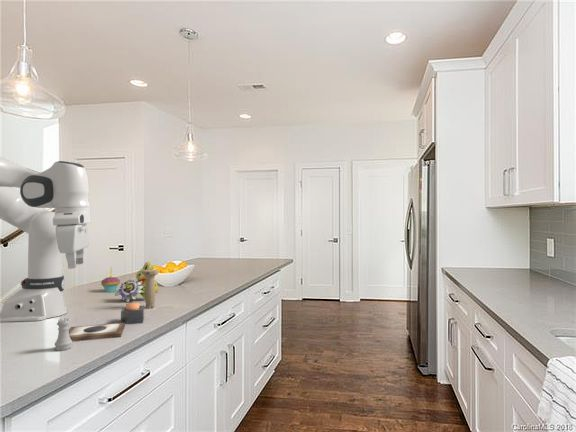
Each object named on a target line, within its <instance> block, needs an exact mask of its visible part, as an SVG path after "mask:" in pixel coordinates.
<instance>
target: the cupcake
mask: <svg viewBox="0 0 576 432" xmlns="http://www.w3.org/2000/svg"><path fill="white" fill-rule="evenodd" d="M100 283H101V284H100V285H101V286H102V287H103V289H104V291H105V292H106V293H113V292H116V291H117V289H118V286H119V285H121V280H120V278H118V277H113V268H112V266H111V268H110V276H109V277H105V278H103V279H102V280H101V282H100ZM105 292H104V293H105Z"/></svg>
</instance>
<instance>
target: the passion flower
mask: <svg viewBox="0 0 576 432" xmlns="http://www.w3.org/2000/svg"><path fill="white" fill-rule="evenodd" d="M140 284H142V281H140V282H136V281H135V278H134V277H131V278H130V279H128V280H126V281H123V283H121V282H120V286H119V289H118V291H117V292H116V293H115V294H114V296H121V301H125V302H126V304H128V303H130V300H131V298H132V300H136V299H137V297H138V296H137V295H138V294H140V296H141V297H143V300H144V301H145V291H144V289H143V287H144V288H145V286H139V285H140Z"/></svg>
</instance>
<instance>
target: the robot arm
mask: <svg viewBox="0 0 576 432" xmlns="http://www.w3.org/2000/svg"><path fill="white" fill-rule="evenodd" d="M88 177H89V176H88V173H87V169H86V168H85V166H84V165H83V164H81V163H79V162H78V163H77V162H72V161H71V162H70V161H64V160H60V161H59V160H58V161H55V162H54V163H53V164H52V165H51V166H50V167H49V168H47V169H45V170H43V171H40V172H39V171H36V170H33V169H30V168H27V167H24V166H22V165H19V164H17V163H15V162H13V161H10V160H8V159H6V158H4V157H2V156H0V220H2V221H4V222H6V223H7V224H10V225H12V226H13V227H15V228H17V229H19V230H21V231H22V232H24V233H25V234H28V242H27V243H28V246H27V247H28V249H27V251H28V252H27V277H26V278H23V280H21V281H20V285H21V289H19V290H18V291H17V292H15V293H14V294H13V295H11V296H10V297H9V298H7V299H6V300H5V301H4V302H3V305H2V308H1V312H0V323H2V322H3V323H4V322H5V323H6V322H32V321H33V322H34V321H35V322H36V321H37V322H38V321H39V322H40V321H42V320H46V319H51V318H55V317H59V316H63V315H65V314H67V313H68V309H67V306H66V301H65V294H64V290H65V276H64V275H63V274H64V272H63V271H64V262H63V261H64V260H63V259H64V254H65V259H66V262H67V267H68V269H70V270H71V269H76V267H77V265H83V264H84V263H85V262H84V261H85V260H84V258H85V257H84V256H85V249H86V248H88V247H89V244H90V242H89V240H90V239H89V233H88V232H89V231H88V225H87V224H91V223H92V217H91V205H90V202H89V195H90V185H89V178H88ZM14 188H18V189H19V191H18V190H16V189H14ZM49 209H54V211H50V210H49Z"/></svg>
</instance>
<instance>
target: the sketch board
mask: <svg viewBox="0 0 576 432" xmlns="http://www.w3.org/2000/svg"><path fill="white" fill-rule="evenodd" d="M125 326H126V324H125V323H121V322H119V323H118V322H115V323H104V324H94V325H79V326H77V325H76V326H71V327H69V337H70V338H71V340H72V342H78V341H79V342H80V340H81V341H90V340H101V339H113V338H121V337H122V335H123V332H124V329H125Z"/></svg>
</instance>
